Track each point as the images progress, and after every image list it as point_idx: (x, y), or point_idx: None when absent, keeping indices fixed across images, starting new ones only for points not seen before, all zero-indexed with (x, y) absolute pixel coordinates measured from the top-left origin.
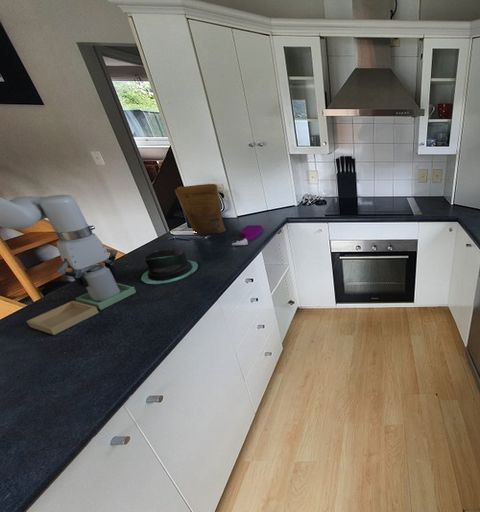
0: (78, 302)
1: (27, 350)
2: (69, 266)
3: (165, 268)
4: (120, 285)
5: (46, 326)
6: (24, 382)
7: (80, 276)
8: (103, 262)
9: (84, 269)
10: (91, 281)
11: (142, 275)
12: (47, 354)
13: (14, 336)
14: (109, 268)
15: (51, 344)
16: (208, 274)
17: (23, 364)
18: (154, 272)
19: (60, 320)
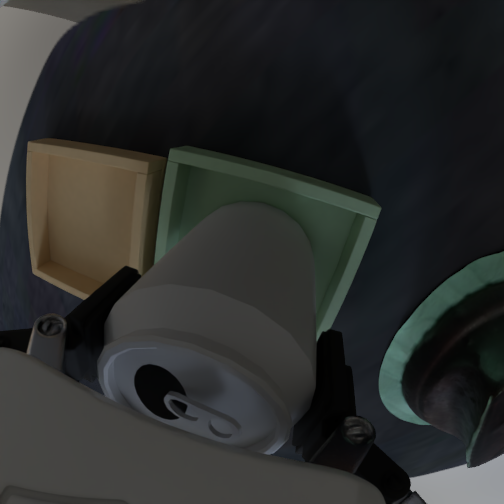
0: (138, 215)
1: (15, 252)
2: (4, 354)
3: (446, 410)
4: (334, 291)
5: (32, 249)
6: (7, 324)
7: (85, 367)
8: (330, 435)
9: (154, 346)
10: (141, 367)
11: (480, 259)
12: (29, 308)
13: (23, 147)
14: (298, 421)
15: (38, 288)
16: (409, 454)
17: (8, 286)
18: (435, 380)
19: (79, 214)
